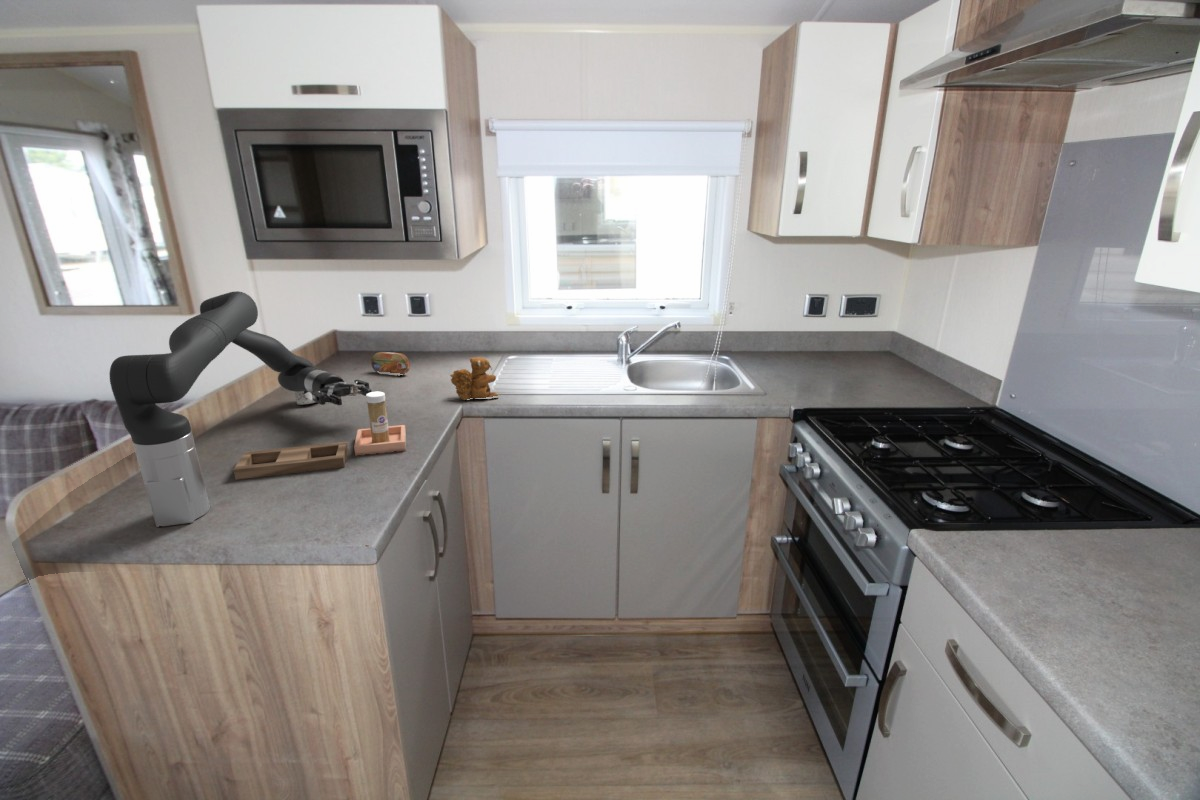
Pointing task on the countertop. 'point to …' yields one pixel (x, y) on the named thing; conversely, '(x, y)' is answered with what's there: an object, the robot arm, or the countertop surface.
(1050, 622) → the countertop surface
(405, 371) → the tin
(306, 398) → the mug
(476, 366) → the stuffed squirrel
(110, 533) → the countertop surface
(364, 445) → the terracotta tray
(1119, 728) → the countertop surface
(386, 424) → the sprinkles bottle
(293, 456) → the walnut rack
